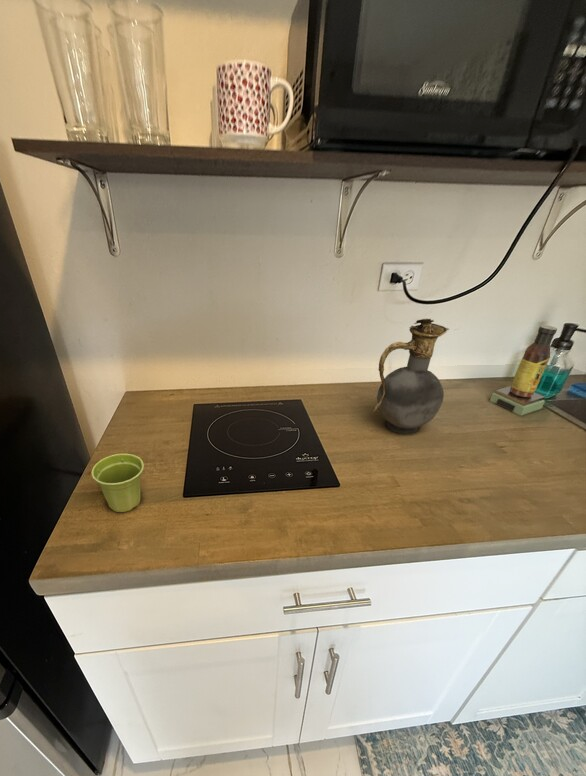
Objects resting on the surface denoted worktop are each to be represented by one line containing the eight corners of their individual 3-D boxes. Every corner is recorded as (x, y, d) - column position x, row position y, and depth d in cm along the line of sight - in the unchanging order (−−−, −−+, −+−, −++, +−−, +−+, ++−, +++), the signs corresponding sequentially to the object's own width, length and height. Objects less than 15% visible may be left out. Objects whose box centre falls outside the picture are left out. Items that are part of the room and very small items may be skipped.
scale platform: (514, 387, 121) (515, 384, 121) (543, 400, 114) (544, 397, 114) (494, 392, 118) (496, 390, 117) (523, 406, 111) (525, 403, 110)
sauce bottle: (531, 400, 112) (561, 332, 101) (507, 394, 115) (534, 327, 104) (534, 392, 116) (563, 327, 105) (510, 386, 119) (537, 322, 109)
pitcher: (439, 433, 103) (475, 321, 87) (376, 445, 98) (403, 327, 81) (413, 414, 111) (442, 308, 95) (355, 423, 106) (374, 313, 90)
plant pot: (151, 485, 82) (146, 451, 78) (146, 516, 75) (140, 481, 70) (105, 488, 81) (97, 454, 76) (96, 521, 73) (86, 485, 69)
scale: (510, 395, 123) (513, 387, 122) (541, 409, 116) (545, 400, 114) (488, 402, 119) (491, 393, 118) (519, 416, 112) (523, 407, 110)
